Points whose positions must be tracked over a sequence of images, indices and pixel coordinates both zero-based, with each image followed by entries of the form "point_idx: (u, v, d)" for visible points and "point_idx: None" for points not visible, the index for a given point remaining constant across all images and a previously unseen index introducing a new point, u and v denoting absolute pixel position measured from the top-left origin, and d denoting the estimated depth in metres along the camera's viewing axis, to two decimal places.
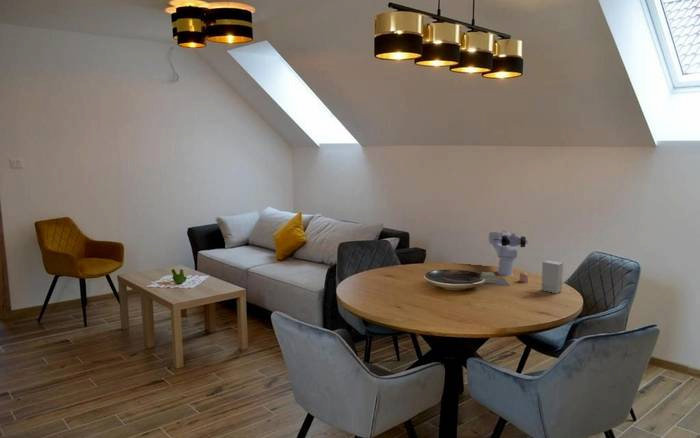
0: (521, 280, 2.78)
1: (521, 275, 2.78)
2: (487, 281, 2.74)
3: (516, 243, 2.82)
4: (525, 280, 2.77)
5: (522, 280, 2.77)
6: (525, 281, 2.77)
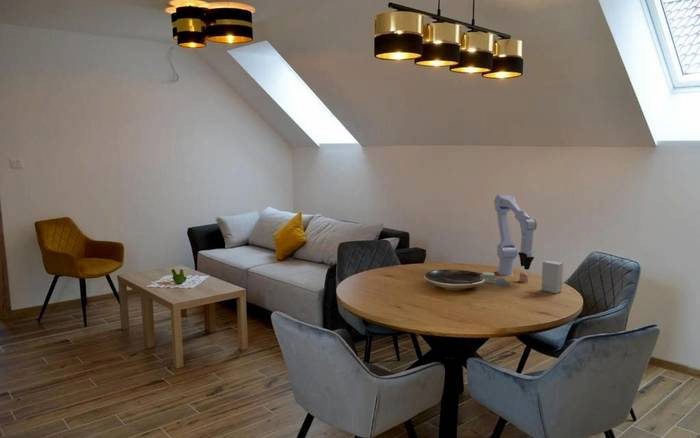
0: (521, 280, 2.78)
1: (521, 275, 2.78)
2: (487, 281, 2.74)
3: None
4: (525, 280, 2.77)
5: (522, 280, 2.77)
6: (525, 281, 2.77)
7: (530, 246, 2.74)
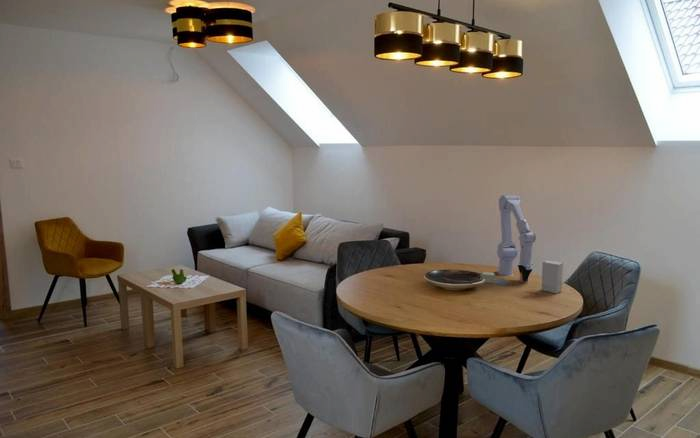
0: (521, 280, 2.78)
1: (521, 275, 2.78)
2: (487, 281, 2.74)
3: None
4: None
5: (522, 280, 2.77)
6: (525, 281, 2.77)
7: (529, 259, 2.75)
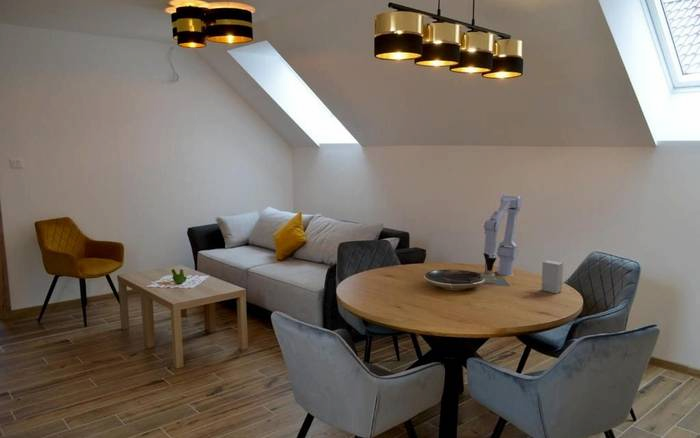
0: (485, 270, 2.76)
1: (486, 266, 2.75)
2: (487, 281, 2.74)
3: None
4: (490, 271, 2.75)
5: (487, 271, 2.75)
6: (490, 272, 2.75)
7: (493, 247, 2.72)
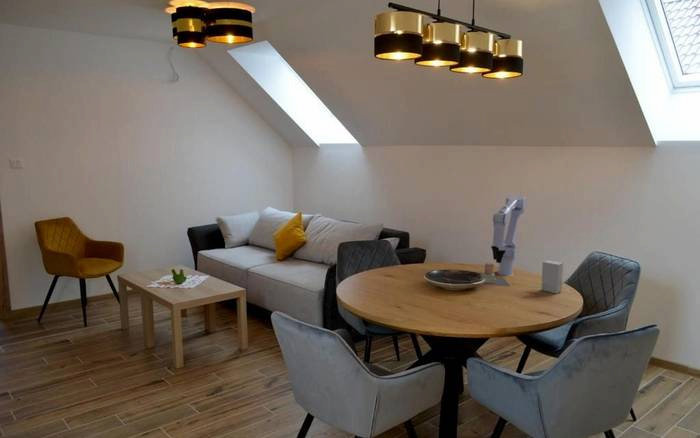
0: (485, 270, 2.76)
1: (486, 266, 2.75)
2: (487, 281, 2.74)
3: None
4: (490, 271, 2.75)
5: (487, 271, 2.75)
6: (490, 272, 2.75)
7: (502, 240, 2.77)
